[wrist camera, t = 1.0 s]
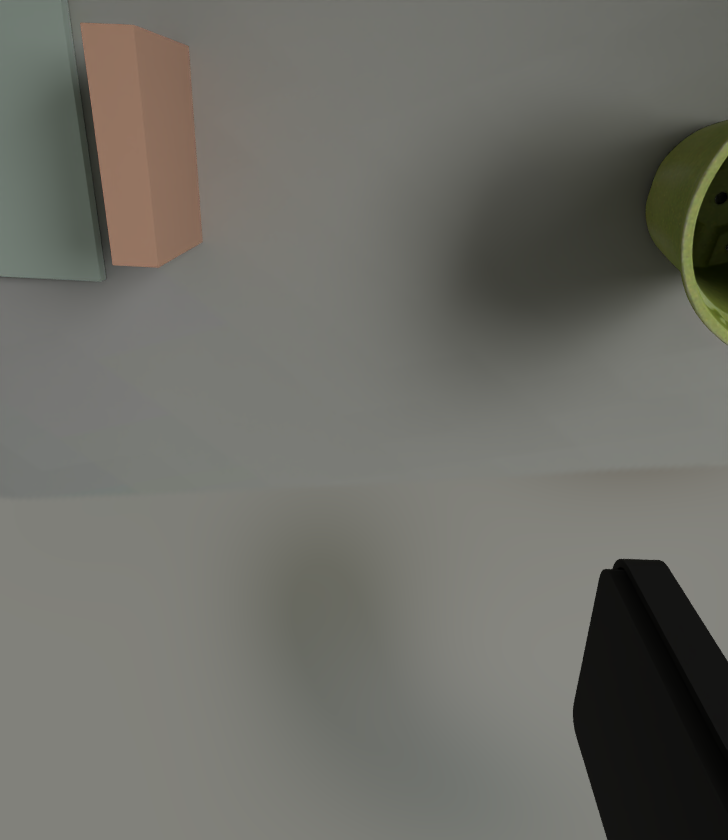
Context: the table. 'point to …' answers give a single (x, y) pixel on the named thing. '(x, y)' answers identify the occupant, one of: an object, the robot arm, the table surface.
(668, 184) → the plant pot
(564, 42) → the table surface
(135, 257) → the tile
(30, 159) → the mat
